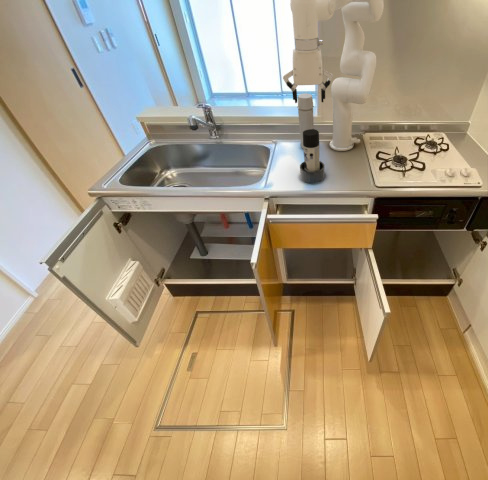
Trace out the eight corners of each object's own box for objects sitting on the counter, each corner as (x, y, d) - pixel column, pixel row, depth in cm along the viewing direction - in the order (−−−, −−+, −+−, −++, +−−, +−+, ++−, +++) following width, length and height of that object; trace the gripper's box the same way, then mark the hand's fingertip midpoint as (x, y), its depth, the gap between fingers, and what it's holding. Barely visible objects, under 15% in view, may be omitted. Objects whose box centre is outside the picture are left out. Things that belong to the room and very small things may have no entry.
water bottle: (316, 149, 137) (314, 98, 119) (301, 151, 137) (297, 99, 119) (313, 141, 144) (311, 91, 126) (299, 143, 143) (295, 92, 125)
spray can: (303, 173, 121) (299, 130, 107) (316, 170, 123) (315, 127, 108) (308, 181, 117) (305, 137, 102) (322, 177, 118) (321, 134, 104)
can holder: (324, 170, 124) (324, 159, 120) (324, 183, 116) (324, 172, 112) (301, 170, 124) (300, 160, 120) (300, 184, 117) (299, 173, 113)
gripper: (332, 41, 87) (332, 97, 100) (280, 42, 88) (286, 98, 100) (334, 46, 82) (333, 104, 95) (278, 48, 82) (285, 106, 95)
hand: (309, 101), depth 97 cm, fingers open, 9 cm apart
